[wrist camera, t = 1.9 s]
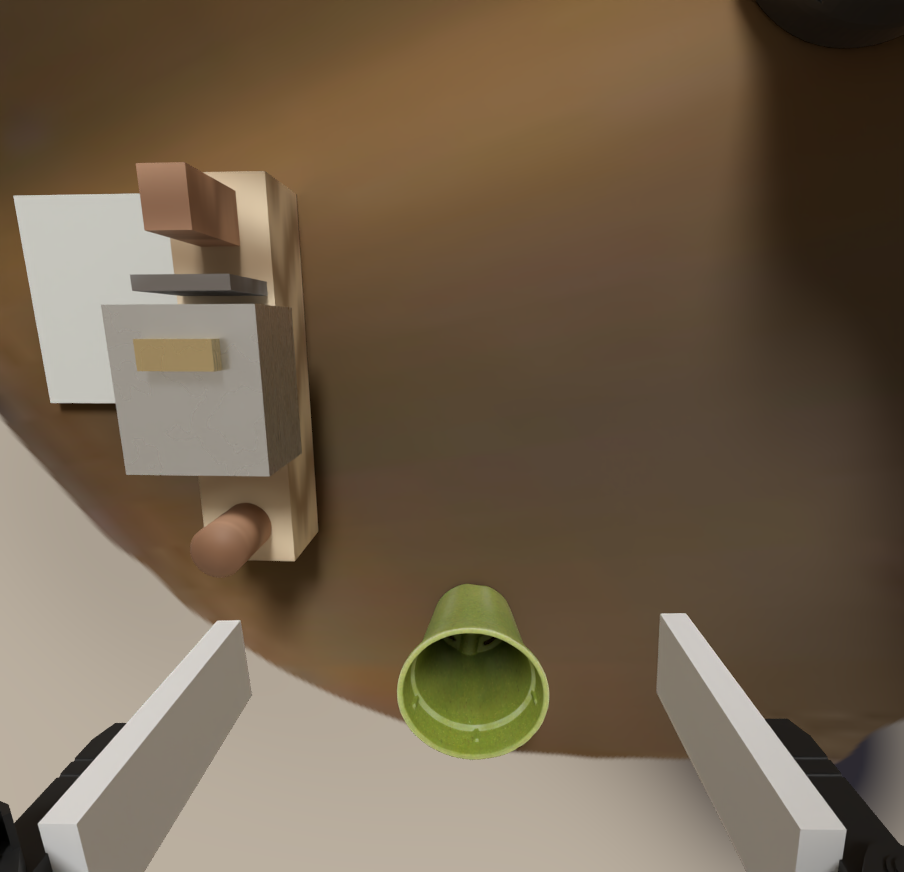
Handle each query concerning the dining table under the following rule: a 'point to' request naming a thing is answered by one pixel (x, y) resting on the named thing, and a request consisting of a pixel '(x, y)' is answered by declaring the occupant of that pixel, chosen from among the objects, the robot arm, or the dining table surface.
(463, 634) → the plant pot
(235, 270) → the hand plane
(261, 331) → the lever cap
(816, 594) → the dining table surface
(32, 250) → the rubber mat
